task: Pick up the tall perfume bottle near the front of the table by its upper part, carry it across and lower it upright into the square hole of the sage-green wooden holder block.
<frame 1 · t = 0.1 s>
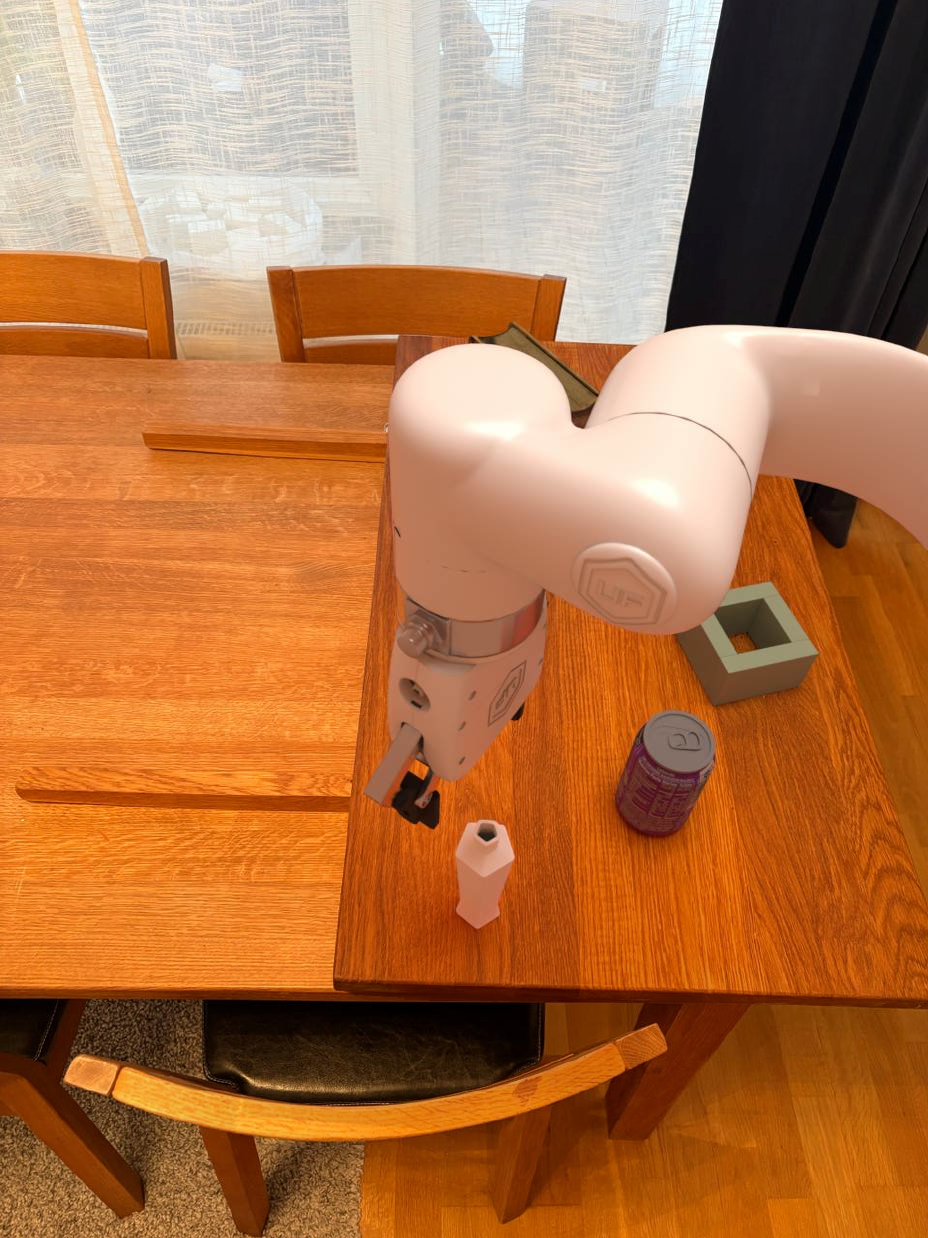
hand: (460, 758, 56), 25 cm above the table, tool pointing down, fingers open, 9 cm apart
holder: (735, 659, 94), on the table
perfume bottle: (477, 909, 76), on the table
book: (516, 541, 105), on the table
apple: (667, 409, 122), on the table
beverage can: (650, 805, 83), on the table
mobile phone: (682, 542, 105), on the table
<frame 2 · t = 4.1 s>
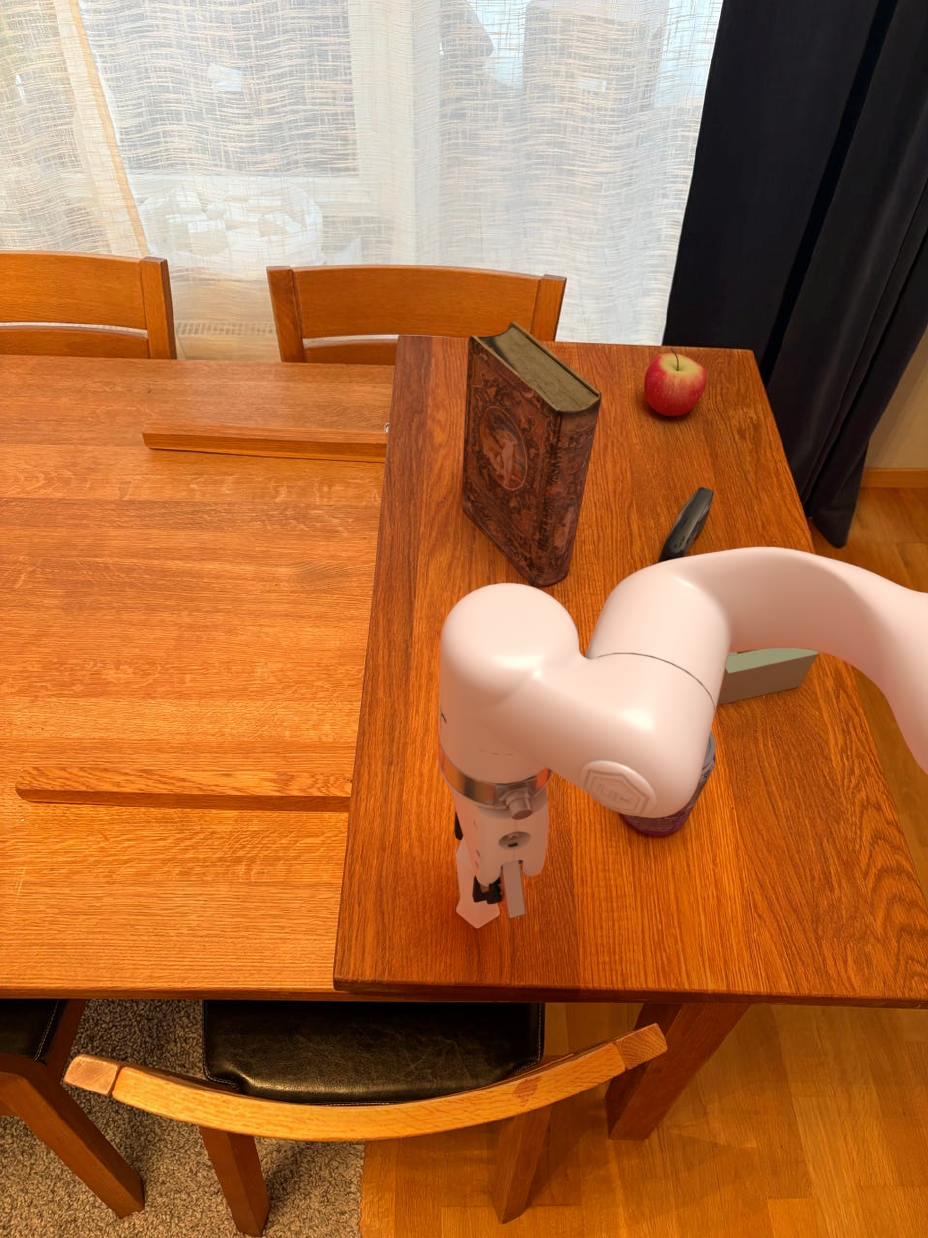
hand: (483, 862, 68), 10 cm above the table, tool pointing down, fingers closed on perfume bottle, 4 cm apart
perfume bottle: (477, 908, 76), on the table, touching gripper
everything else where it was.
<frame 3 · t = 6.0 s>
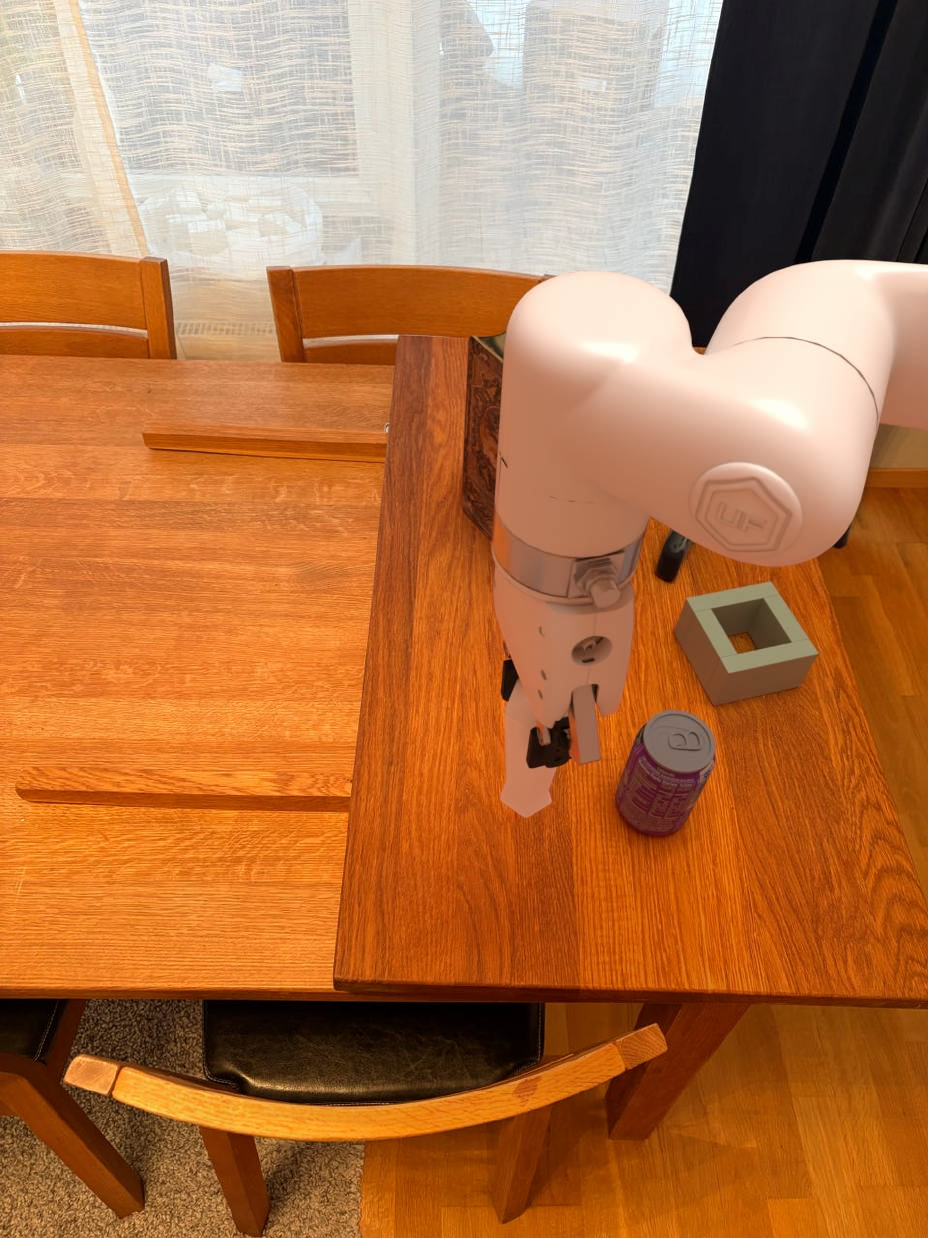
hand: (536, 724, 57), 27 cm above the table, tool pointing down, fingers closed on perfume bottle, 4 cm apart
perfume bottle: (525, 796, 64), point 17 cm above the table, touching gripper
everything else where it was.
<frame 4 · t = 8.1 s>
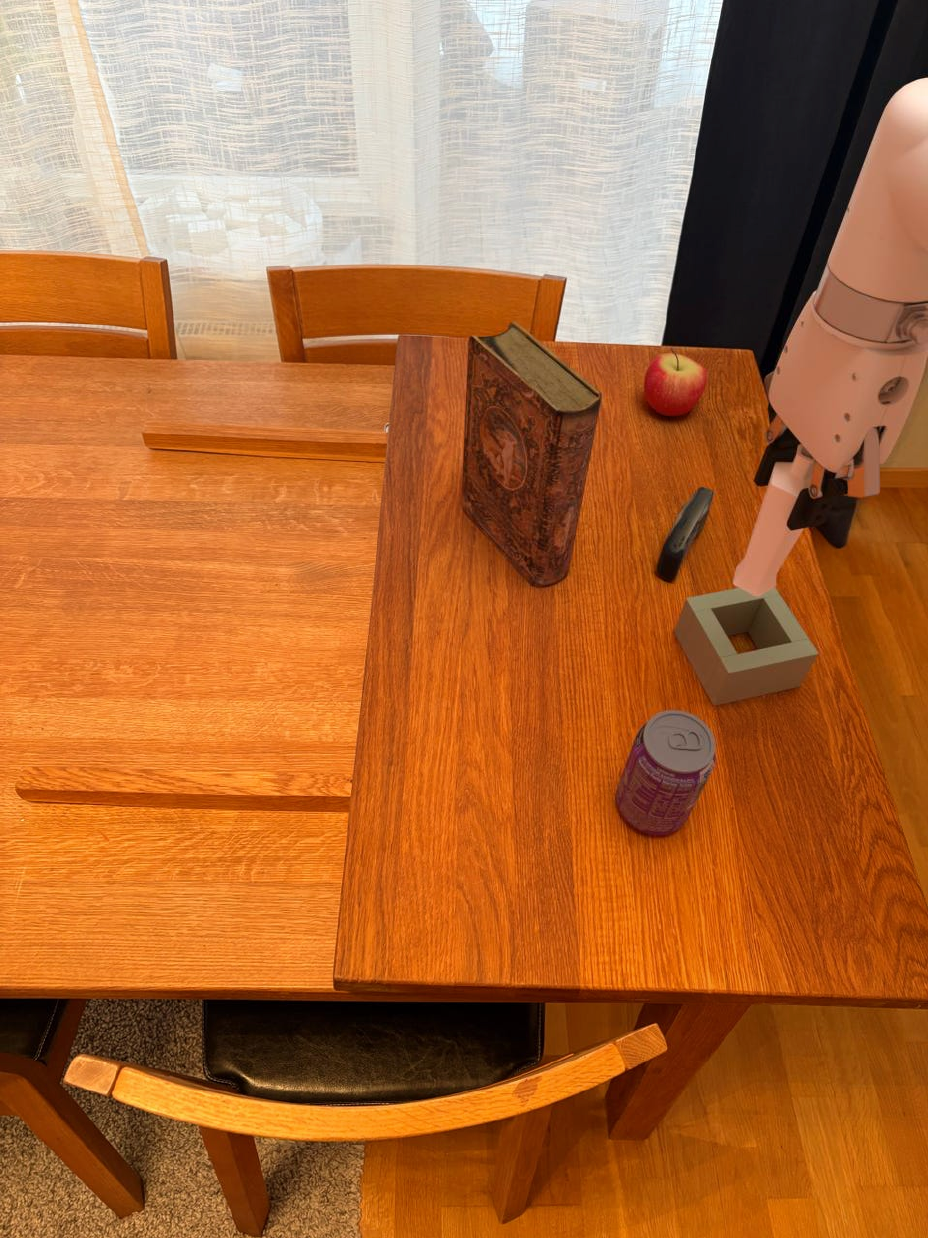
hand: (787, 501, 70), 27 cm above the table, tool pointing down, fingers closed on perfume bottle, 4 cm apart
perfume bottle: (752, 583, 78), point 17 cm above the table, touching gripper
everything else where it was.
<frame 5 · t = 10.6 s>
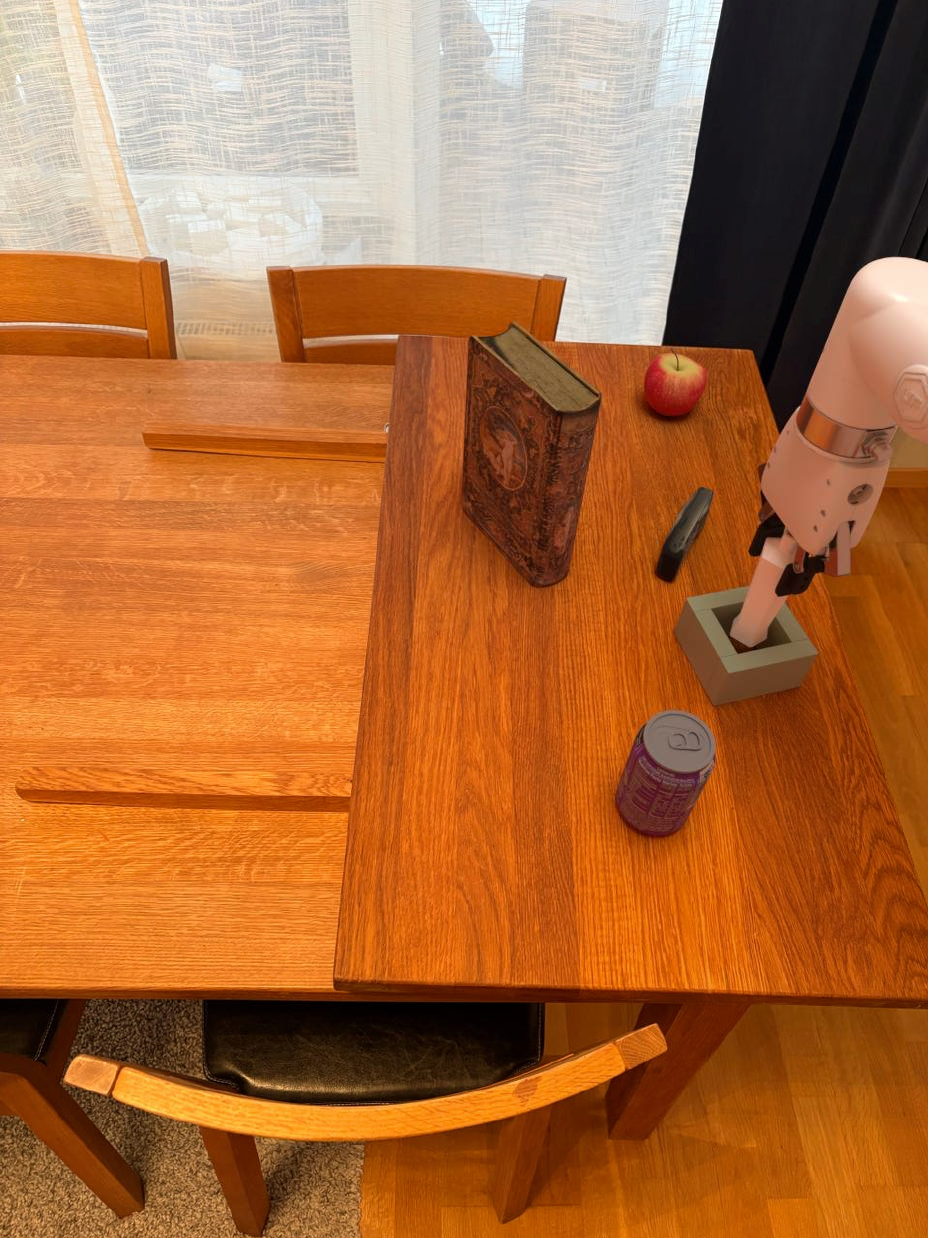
hand: (776, 570, 83), 14 cm above the table, tool pointing down, fingers closed on perfume bottle, 4 cm apart
perfume bottle: (747, 634, 91), point 5 cm above the table, touching gripper
everything else where it was.
when the fingers open (10 cm above the table, at t = 12.3 s): perfume bottle stays where it is, resting in holder.
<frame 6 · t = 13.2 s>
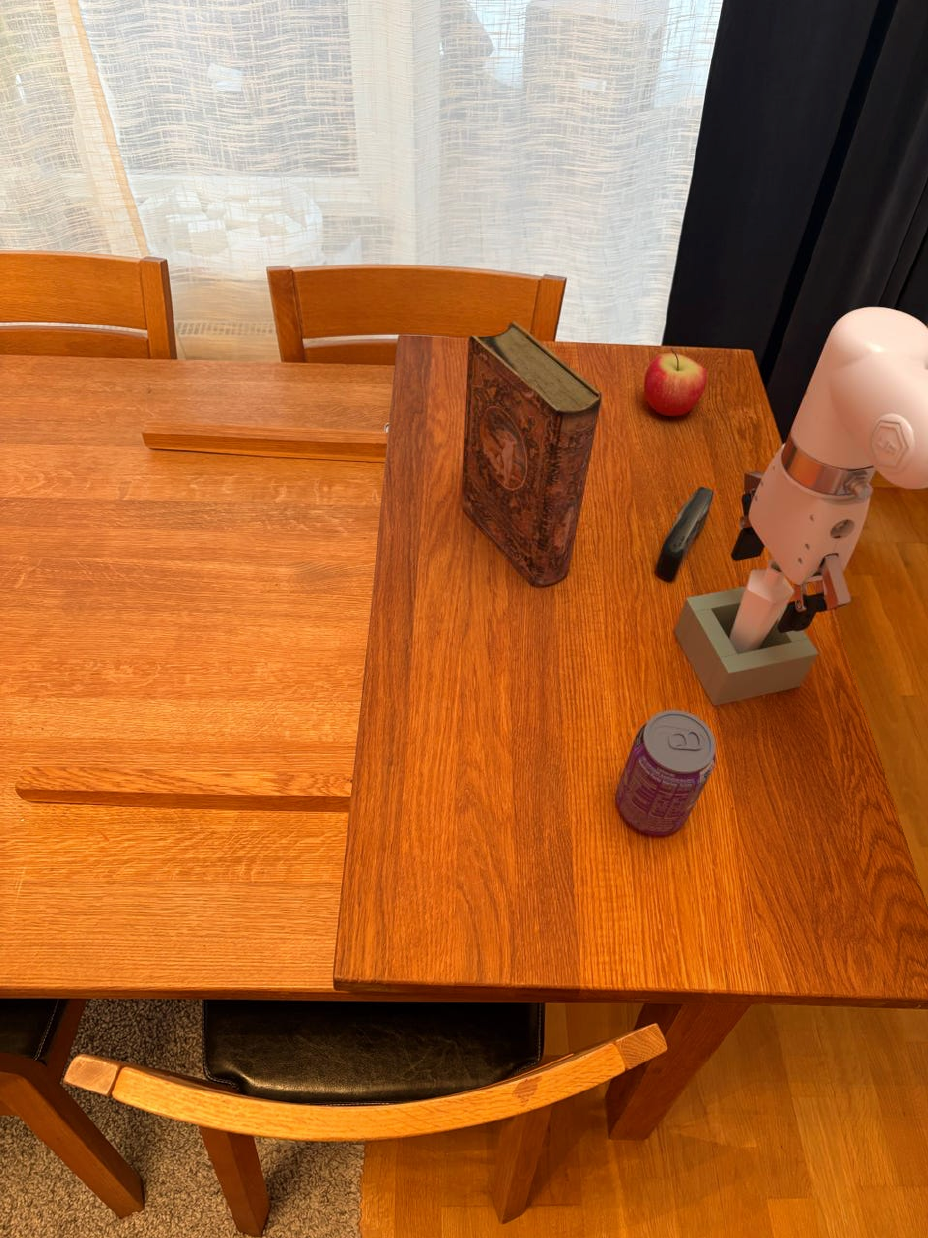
hand: (767, 591, 85), 11 cm above the table, tool pointing down, fingers open, 9 cm apart
perfume bottle: (735, 661, 94), resting in holder
everything else where it was.
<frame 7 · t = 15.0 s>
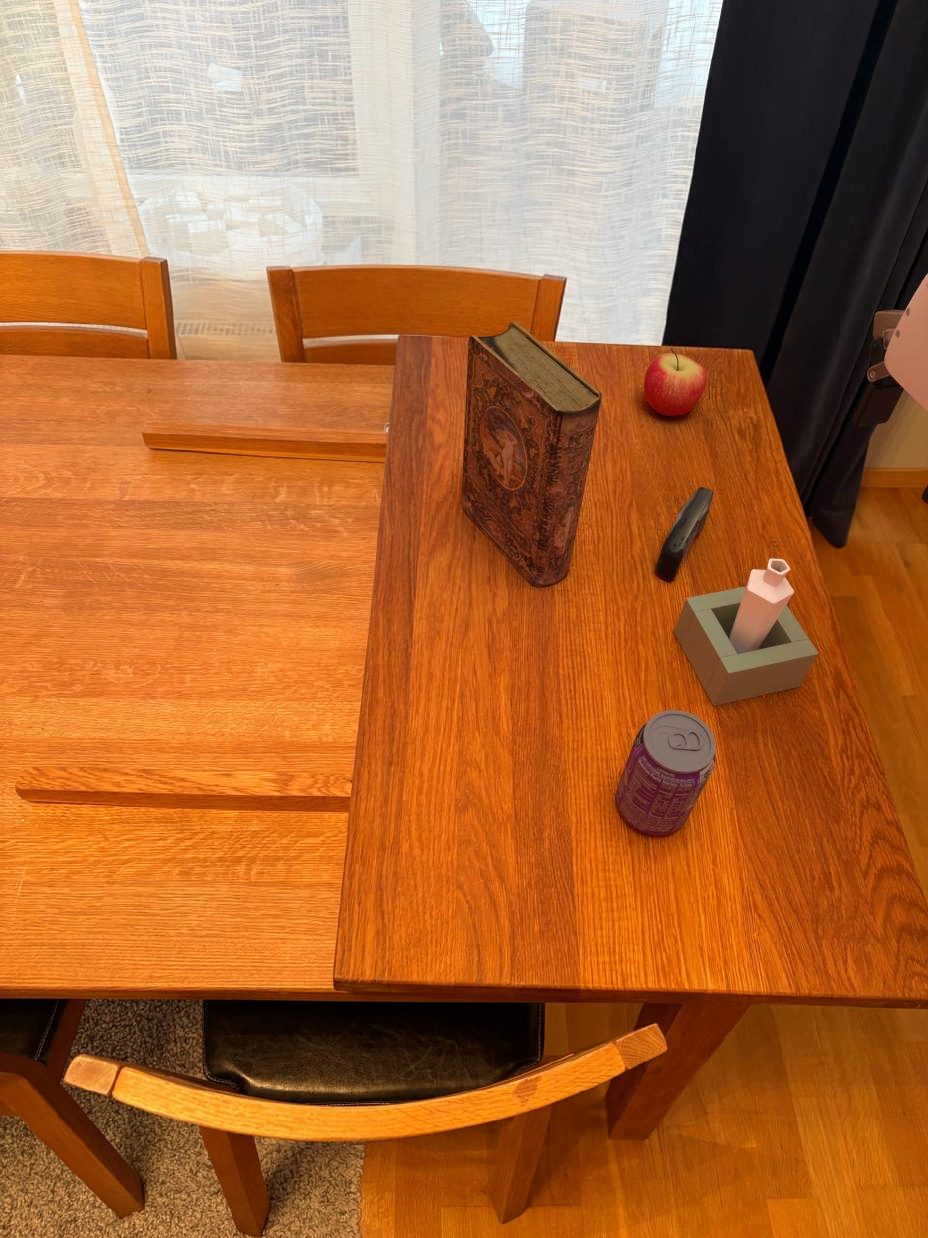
hand: (902, 459, 70), 30 cm above the table, tool pointing down, fingers open, 9 cm apart
nothing on the table moved.
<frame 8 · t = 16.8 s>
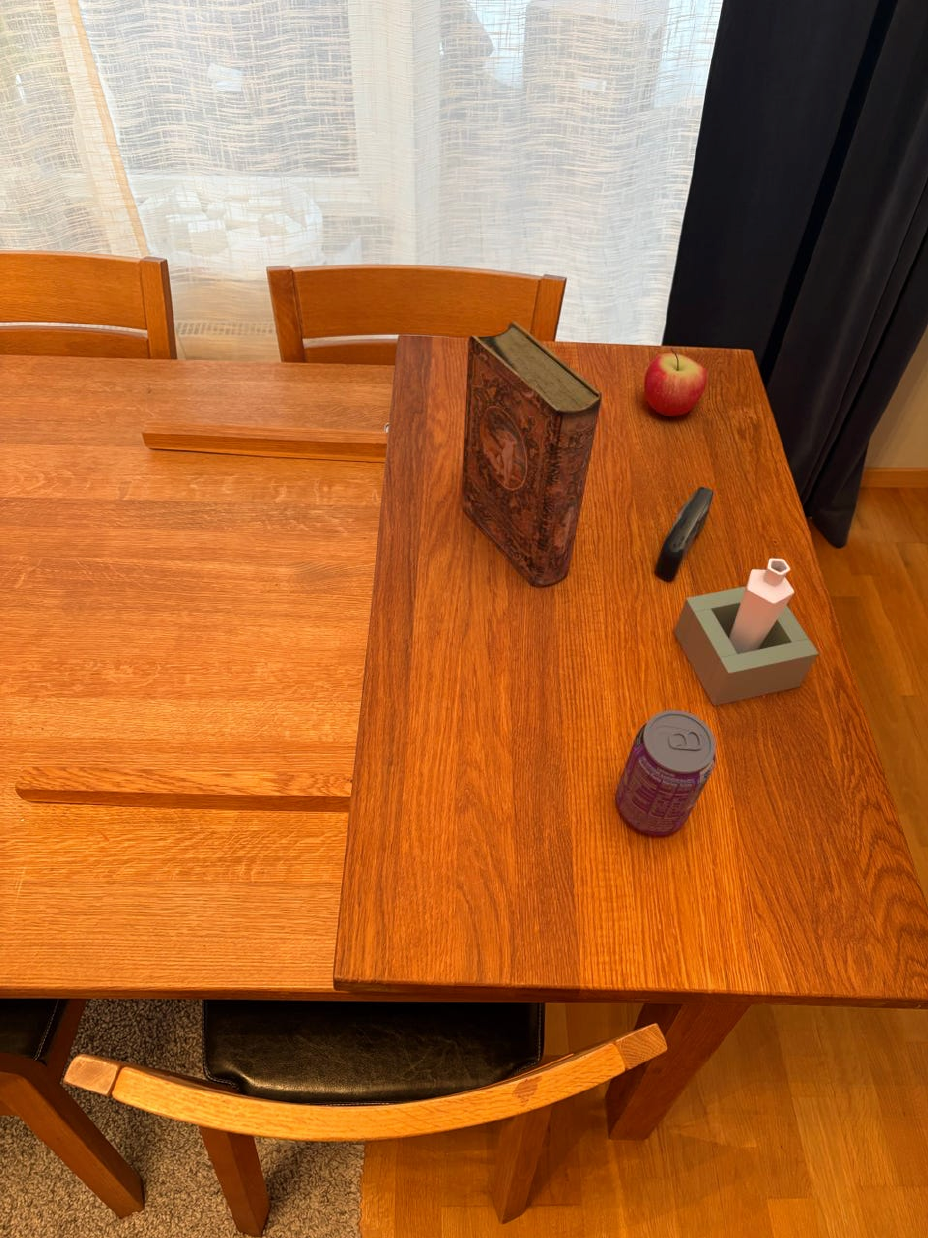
nothing on the table moved.
at the end: perfume bottle 0.1 cm off-centre in the holder, point 0.0 cm above the holder's base; perfume bottle tilted 0° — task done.
